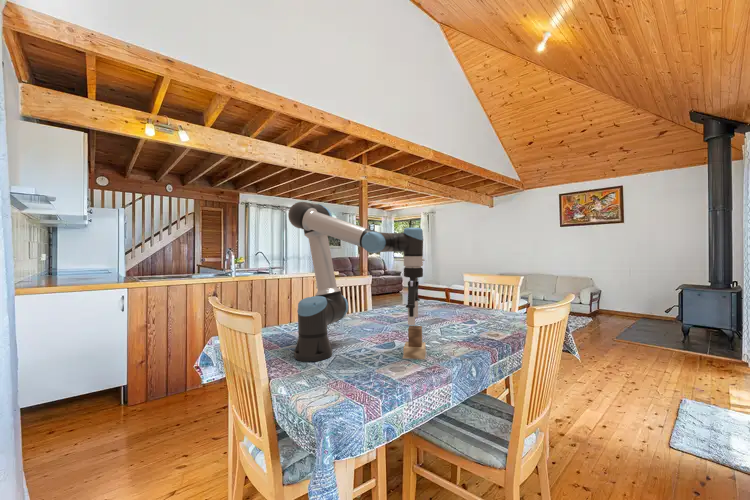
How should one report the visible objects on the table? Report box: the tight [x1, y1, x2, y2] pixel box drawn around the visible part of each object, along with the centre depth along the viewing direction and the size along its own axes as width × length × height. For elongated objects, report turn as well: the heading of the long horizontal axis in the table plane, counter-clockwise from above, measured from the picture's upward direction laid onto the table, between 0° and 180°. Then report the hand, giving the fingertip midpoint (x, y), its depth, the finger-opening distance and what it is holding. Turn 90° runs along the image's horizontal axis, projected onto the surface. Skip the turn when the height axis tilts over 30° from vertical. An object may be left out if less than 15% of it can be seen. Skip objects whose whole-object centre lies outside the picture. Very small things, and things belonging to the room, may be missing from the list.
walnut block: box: [407, 325, 423, 347], centre depth 128 cm, size 5×5×7 cm
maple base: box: [403, 341, 427, 360], centre depth 128 cm, size 8×8×4 cm
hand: (413, 320), depth 128 cm, fingers open, 13 cm apart
